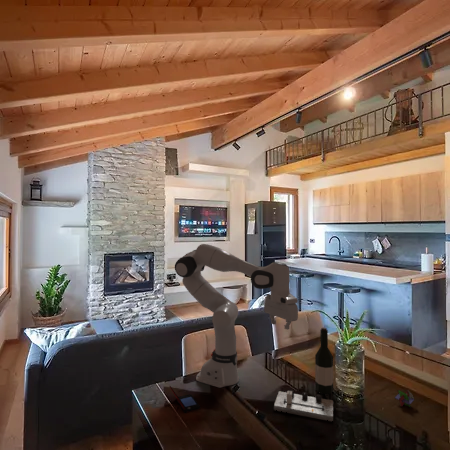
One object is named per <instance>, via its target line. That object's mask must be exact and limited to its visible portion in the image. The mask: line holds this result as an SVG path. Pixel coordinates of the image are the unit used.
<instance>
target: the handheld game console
mask: <svg viewBox="0 0 450 450" xmlns="http://www.w3.org/2000/svg"><path fill="white" fill-rule="evenodd" d="M169 388H170V390H171V392H172V393H173V395H174V396H175V401H176V402H177V403H178V405H180V407H181V410H182V411H183V412H184V414H186V413H190V412H194V411H198V410H200V409H201V405H200V404H199V403H198V401H197V400H196V398H195V397H194V396H193V395H192V394H190V393H189V394H186V395H182V396H178V395H177V393H176V392H175V391H174V389H173V388H172V386H171V385H169Z"/></svg>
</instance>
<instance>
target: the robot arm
mask: <svg viewBox="0 0 450 450" xmlns="http://www.w3.org/2000/svg"><path fill="white" fill-rule="evenodd" d="M205 267H207V268H210V269H212V270H214V271H217V272H222V273H227V272H237V273H241V274H244V275H246V276H249V277H250V283H251V284H252V286H253V287H254V288H256V289H259V290H263V289H270V293H268V294H266V296H265V298H264V299H265V300H264V307H263V310H264V313H265V314H268V315H269V318H270V320H271V321H270V322H271V324H272V325H276V324H277V320H276V317H277V318H280V319H283V320H285V322H286V323H285V324H284V325H283V326H284V329H285V330H286V331H287V330H290V325H291V324H292V322H296V321H298V318H299V308H298V305H297V304H298V302H299V301H298V300H299V299H298V298H297V297H295V296H294V295H293V294H292V293H291V292H290V278H291V277H290V268H289V266H288V264H286V263H284V262H281V261H273V262H272V263H270V264H268V265H266V266H265V265H264V266H263V265H262V266H259V265H256V264H253V263H251V262H248V261H246V260H244V259H240V258H239V257H237V256H236V255H234V254H232V253H230V252H228V251H227V250H224V249H222V248H221V247H218V246H215V245H212V244H207V243H201V244H199V245H198V246H197V247H196V249H193V250H192V251H190V252H187V253H185V254H184V255H183V256H182V257H180V258H178V259H177V260H176V262H175V264H174V271H175V273H176V274H177V276H179V277H180V278H182V281H181V282H182V284H183V286H184V287H185V289H186V290H187V292H188V293H189V294H190V295H191V296H192V297H193V298H194V299H195V300H196V301H197V303H198V304H199V305H201V306H202V307H203V308H206V309H207V310H209V311H210V312H212V313H213V314H212V317H211V318H212V319H211V321H212V325H213V331H214V337H215V338H214V339H215V340H214V341H215V342H214V343H215V345H214V346H215V348H214V349H213V351H212V352H211V354H210V357H211V358H209V359H208V360H207V361H205V363H203V365H202V366H201V368H200V371H199V372H198V373H197V375H196V376H195V377H196V378H195V381H196V382H200V383H202V384H206V385H209V386H213V387H217V388H223V387H228V386H233V385H235V384H238V383H239V382H240V377H239V372H238V365H237V364H238V352H237V335H236V329H235V322H236V320H237V318H238V316H239V308H238V305H237V304H236V303H235V302H233V301H231V300H230V299H228V297H226V296H224V294H222V293H220V292H219V291H218V290H217V289H216V288H215V287H214V286H213V285H212V284H211V283H210V282H209V281H207V279H206V278H205V277H204V276H203V275H202V272H203V271H204V270H205Z"/></svg>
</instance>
